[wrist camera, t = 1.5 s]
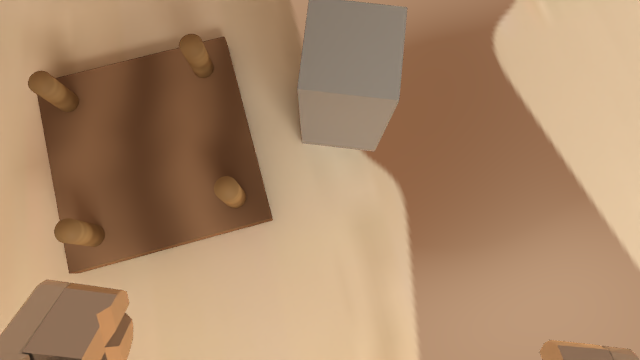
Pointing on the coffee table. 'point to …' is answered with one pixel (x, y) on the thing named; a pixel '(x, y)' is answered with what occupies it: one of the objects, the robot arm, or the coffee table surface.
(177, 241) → the stand
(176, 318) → the coffee table surface
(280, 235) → the coffee table surface
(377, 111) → the slate block
